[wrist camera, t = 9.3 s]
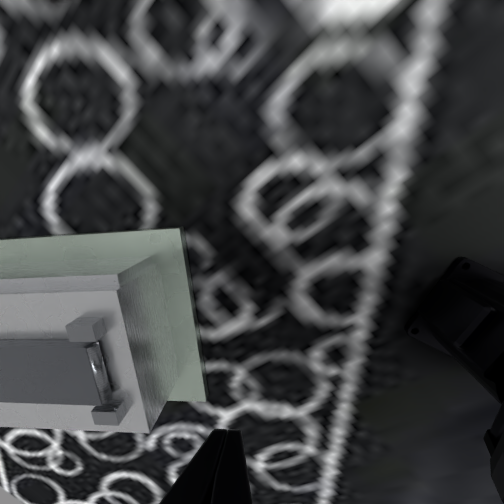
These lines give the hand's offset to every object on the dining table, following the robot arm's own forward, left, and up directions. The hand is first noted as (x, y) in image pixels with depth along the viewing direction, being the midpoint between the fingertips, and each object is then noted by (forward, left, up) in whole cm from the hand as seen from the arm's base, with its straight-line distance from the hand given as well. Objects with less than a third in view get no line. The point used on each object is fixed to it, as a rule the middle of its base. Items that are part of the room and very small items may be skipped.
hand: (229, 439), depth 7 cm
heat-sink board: (+12, +10, -12) cm, 20 cm away
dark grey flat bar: (+13, +10, -6) cm, 17 cm away
